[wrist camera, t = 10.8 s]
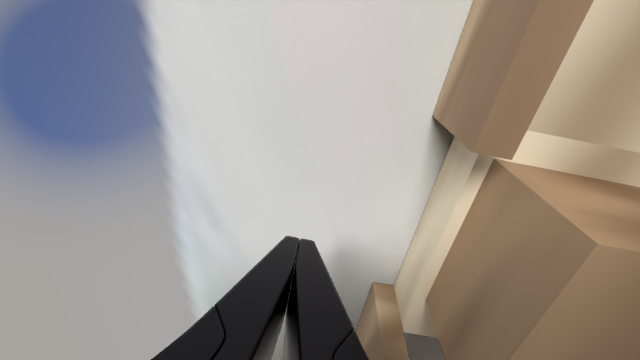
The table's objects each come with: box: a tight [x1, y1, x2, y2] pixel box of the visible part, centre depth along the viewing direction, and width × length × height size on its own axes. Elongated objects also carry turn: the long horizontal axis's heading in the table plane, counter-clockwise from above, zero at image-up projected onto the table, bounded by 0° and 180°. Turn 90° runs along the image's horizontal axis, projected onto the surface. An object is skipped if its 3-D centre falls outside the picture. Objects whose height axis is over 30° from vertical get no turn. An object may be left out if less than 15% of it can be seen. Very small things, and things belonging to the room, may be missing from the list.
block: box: [426, 159, 640, 360], centre depth 9 cm, size 6×6×4 cm
